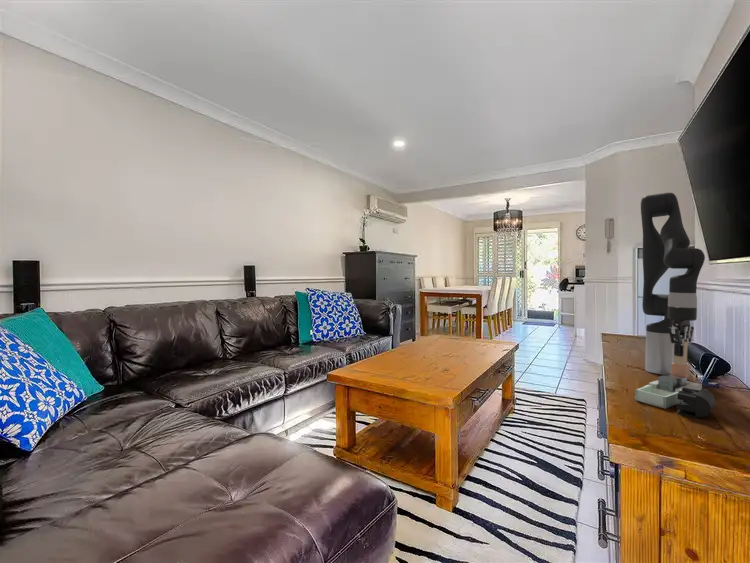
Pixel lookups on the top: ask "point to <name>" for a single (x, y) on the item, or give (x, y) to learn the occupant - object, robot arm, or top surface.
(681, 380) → the grey cube block
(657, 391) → the slot board
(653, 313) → the robot arm
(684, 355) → the two-tone stepped bar
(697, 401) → the end cap
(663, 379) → the dark grey cube
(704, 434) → the top surface
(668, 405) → the tray
